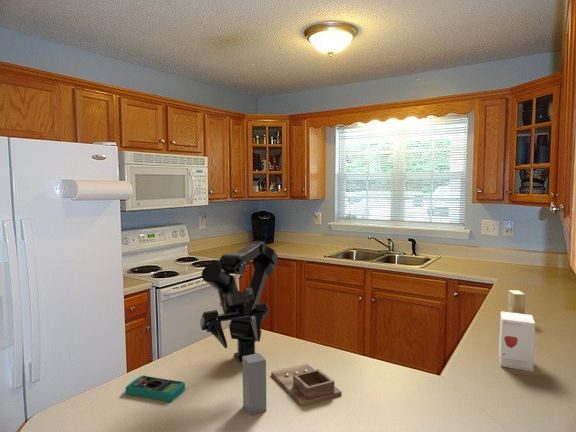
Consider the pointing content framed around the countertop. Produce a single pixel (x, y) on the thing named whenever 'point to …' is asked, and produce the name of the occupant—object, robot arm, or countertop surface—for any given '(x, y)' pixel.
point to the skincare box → (516, 302)
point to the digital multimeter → (155, 388)
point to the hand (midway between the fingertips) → (242, 344)
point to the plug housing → (254, 383)
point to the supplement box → (517, 341)
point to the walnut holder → (306, 384)
